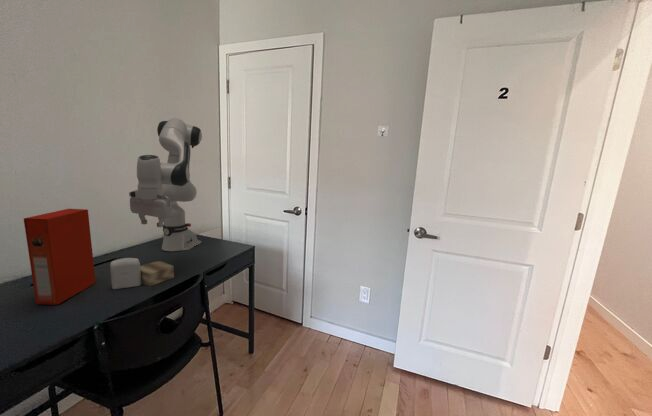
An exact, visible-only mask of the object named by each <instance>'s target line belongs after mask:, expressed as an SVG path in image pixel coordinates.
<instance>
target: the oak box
mask: <svg viewBox="0 0 652 416" xmlns="http://www.w3.org/2000/svg"><path fill="white" fill-rule="evenodd" d="M174 266H175V265H172V264H169V263H166V262H164V261H162V260H156V261H154V262H149V263H146V264H143V265H140V271H141V284H143V285H146V286H148V287H152V286H154V285H157V284H159V283H163V282H165V281H167V280H171V279H173V278H175V267H174Z"/></svg>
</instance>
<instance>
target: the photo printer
mask: <svg viewBox="0 0 652 416" xmlns="http://www.w3.org/2000/svg"><path fill="white" fill-rule="evenodd" d="M140 266H141V263H140V259H139V258H136V257H135V258H134V257H124V258H117V259H114V260H113V261H111V262H110V266H109V271H110V283H111V288H112V290H119V289H127V288H132V287H139V286H141V285H142V283H141V271H140Z"/></svg>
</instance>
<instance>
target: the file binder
mask: <svg viewBox="0 0 652 416" xmlns="http://www.w3.org/2000/svg"><path fill="white" fill-rule="evenodd" d="M23 223H24V231H25V239H26V244H27V250H28V258H29V264H30V271H31V276H32V284H33V291H34V296H35V297H34V298H35V304H36V305H54V306H57V305H60V304H61V303H63V302H64V301H66V300H68V299H70V298H72V297H74V296H75V295H77V294H79V293H80V292H82V291H84V290H86V289H87V288H89V287H91V286H92V285H94V284H96V275H95V273H96V272H95V265H94V253H93V247H92V246H93V245H92V238H91V237H92V236H91V228H90V227H91V225H90V215H89V209H83V208H66V209H61V210H56V211H52V212H48V213H47V212H46V213H43V214H37V215H33V216H29V217H24V218H23Z"/></svg>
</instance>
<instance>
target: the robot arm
mask: <svg viewBox="0 0 652 416" xmlns="http://www.w3.org/2000/svg"><path fill="white" fill-rule="evenodd" d="M156 131H157V135H158V142H159V144H160V146H161V147H162V148H163V150H165V151H167V152H168V157H167V162H161V159H160V157H159V156H157V155H154V154H145V155H144V154H143V155H139V156H138V158H137V163H136V177H137V181H138V182H137V189H135V190H132V191H130V192H128V194H129V197H130V198H129V207H130V208H129V209H130V211H131V213H132V214H136V215H137V214H138V218H139V219H140V222H141V223H140V224H141V225H147V224H148V219H146V216H147V217H153V218H157V219H158V222H157V223H156V227H157V228H162V231H163V237H162V243H161V250H162V251H164V252H165V251H166V252H179V251H189V250H191V249H193V248H195V247H196V245H197V246H198V244H199V245H201V244H202V241H201V240H200V239H198V236H197V233H196V232H194V231H192V230H191V229H189V228H191V226H192V223H188V222H187V223H186V212H185V209H184V208H183V207H181V206H180V204H178V202H182V203H184V202H193V200H195V198H196V197H197V188H196V186H195V185H194V184H193V183H192V182H191V180H190V176H191V175H190V162H191V148H192V149H194V148H195V147H197V146H199V144H200V143H201V141H202V139H203V134H202V130H201V128H199V127H198V126H195V125H191V124H190V125H189V124H188V123H185V122H184V120H182V119H181V118H177V117H173V118H169V119H168V120H162V121H160V122H159V123H158V125H157V128H156ZM194 246H195V247H194Z"/></svg>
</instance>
